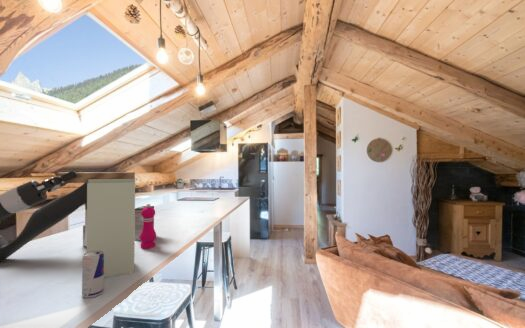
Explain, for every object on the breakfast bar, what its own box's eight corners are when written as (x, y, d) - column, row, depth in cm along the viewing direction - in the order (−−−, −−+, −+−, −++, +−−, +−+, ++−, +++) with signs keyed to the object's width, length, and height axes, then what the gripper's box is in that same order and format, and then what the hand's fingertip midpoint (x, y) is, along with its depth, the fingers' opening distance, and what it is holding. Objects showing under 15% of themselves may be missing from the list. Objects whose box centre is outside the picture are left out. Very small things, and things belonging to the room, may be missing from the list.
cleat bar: (56, 183, 86) (57, 172, 86) (60, 182, 89) (60, 172, 89) (134, 181, 95) (134, 172, 95) (134, 181, 99) (134, 172, 99)
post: (86, 279, 87) (87, 179, 87) (92, 268, 96) (92, 178, 96) (133, 272, 92) (133, 179, 92) (134, 262, 101) (135, 177, 102)
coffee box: (142, 235, 141) (142, 205, 141) (154, 235, 141) (154, 205, 141) (133, 240, 132) (134, 208, 132) (146, 240, 132) (146, 208, 132)
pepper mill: (159, 244, 125) (159, 202, 125) (151, 249, 118) (151, 205, 118) (144, 244, 125) (145, 202, 126) (136, 248, 118) (136, 204, 118)
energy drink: (107, 291, 79) (108, 251, 79) (91, 299, 74) (91, 257, 74) (94, 288, 80) (95, 249, 80) (77, 296, 75) (77, 255, 75)
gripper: (39, 203, 91) (89, 181, 97) (19, 210, 78) (78, 183, 84) (27, 185, 90) (78, 163, 96) (5, 188, 77) (66, 163, 83)
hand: (78, 173), depth 90 cm, fingers open, 7 cm apart
